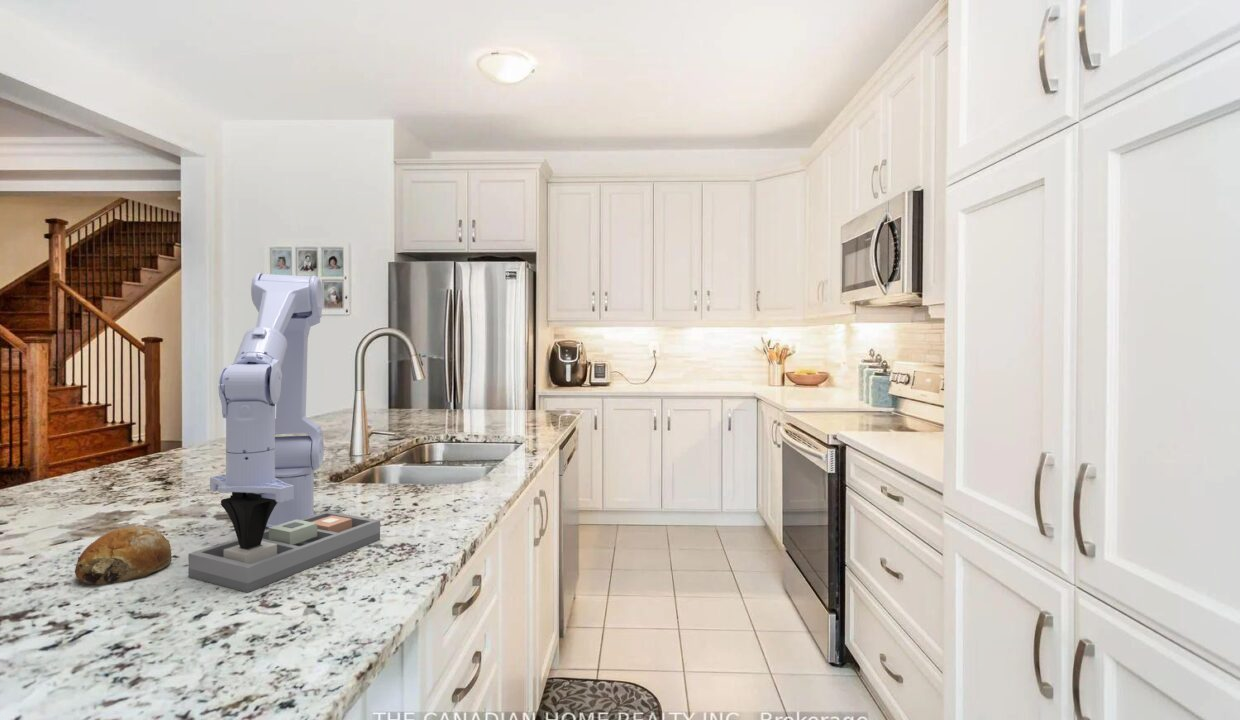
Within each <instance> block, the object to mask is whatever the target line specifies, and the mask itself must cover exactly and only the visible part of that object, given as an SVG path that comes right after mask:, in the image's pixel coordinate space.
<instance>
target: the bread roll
mask: <svg viewBox="0 0 1240 720" xmlns="http://www.w3.org/2000/svg"><path fill="white" fill-rule="evenodd" d="M171 547H172V546H171V544H170V540H169V539H167V538H166V537H165V536H164V534H162V533H161V532H159V531H158V530H156V529H154V528H152V527H148V526H141V525H131V526H130V525H129V526H125V527H120V528H119V527H118V528H116V529H114V530H111V531H109V532H106V533H105V534H104V535H101V536H100V537H98V538H97V539H95V540H94V541H93V542H92V543H90V544H89V545H87V547H86V548H85V549H84V550H83V551H82V553H81V554H80V556H78V557H77V563H76V565H75V568H74V575H75V577H76V579H77V580H78V581H79V582H80V583H82V584H87V585H90V586H91V585H97V586H100V585H101V586H102V585H110V584H115V583H123V582H127V581H131V580H136V579H140V578H144V577H147V576H149V575H151V574H154V573H157V572H159V571H161V570H163V569H165V568H166V567H168V565H169V564H171V562H172V558H173V556H172V548H171ZM170 561H171V562H170Z"/></svg>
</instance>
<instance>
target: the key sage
mask: <svg viewBox="0 0 1240 720" xmlns="http://www.w3.org/2000/svg"><path fill="white" fill-rule="evenodd" d="M268 529H269V540H272V541H276V542H281V543H286V544H291V545H293V544H296V543H299V542H302V541H305V540H308V539H311V538H314V537H316V536H317V523H313V522H308V521H302V520H297V519H296V520H293V521H289V522H286V523H283V524H280V525H276V526H273V527H270V528H268Z"/></svg>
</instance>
